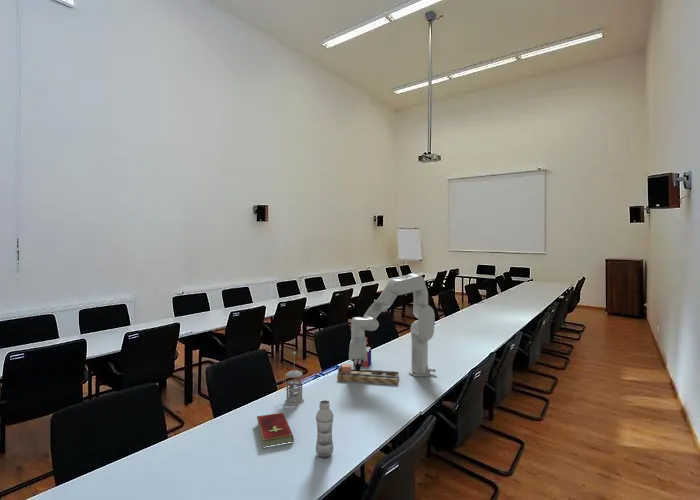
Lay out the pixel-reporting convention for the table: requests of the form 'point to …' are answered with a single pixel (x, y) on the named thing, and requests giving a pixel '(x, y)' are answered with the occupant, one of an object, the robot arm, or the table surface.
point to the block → (346, 368)
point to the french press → (297, 397)
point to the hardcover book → (274, 429)
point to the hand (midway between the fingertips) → (358, 370)
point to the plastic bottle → (324, 430)
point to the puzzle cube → (368, 362)
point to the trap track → (369, 376)
